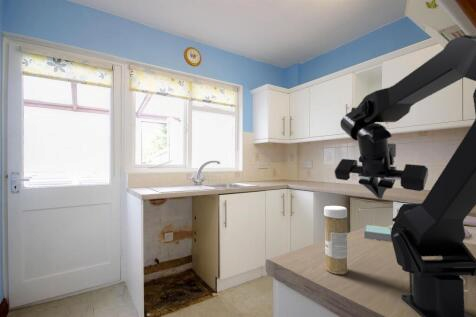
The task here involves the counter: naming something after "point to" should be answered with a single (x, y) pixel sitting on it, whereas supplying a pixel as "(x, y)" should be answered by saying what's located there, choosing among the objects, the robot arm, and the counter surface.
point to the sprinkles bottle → (336, 239)
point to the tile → (377, 233)
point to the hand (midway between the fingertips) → (380, 197)
